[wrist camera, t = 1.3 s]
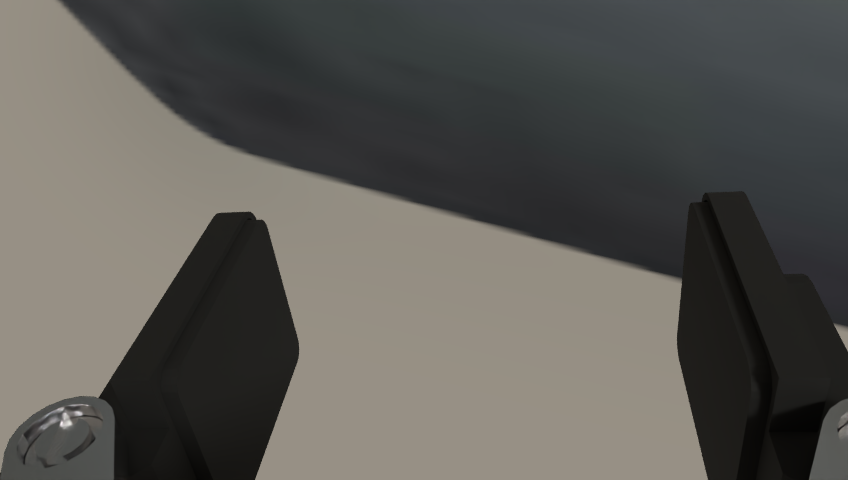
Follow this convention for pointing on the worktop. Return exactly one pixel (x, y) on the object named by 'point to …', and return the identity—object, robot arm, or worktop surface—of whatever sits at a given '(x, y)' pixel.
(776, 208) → the worktop surface
